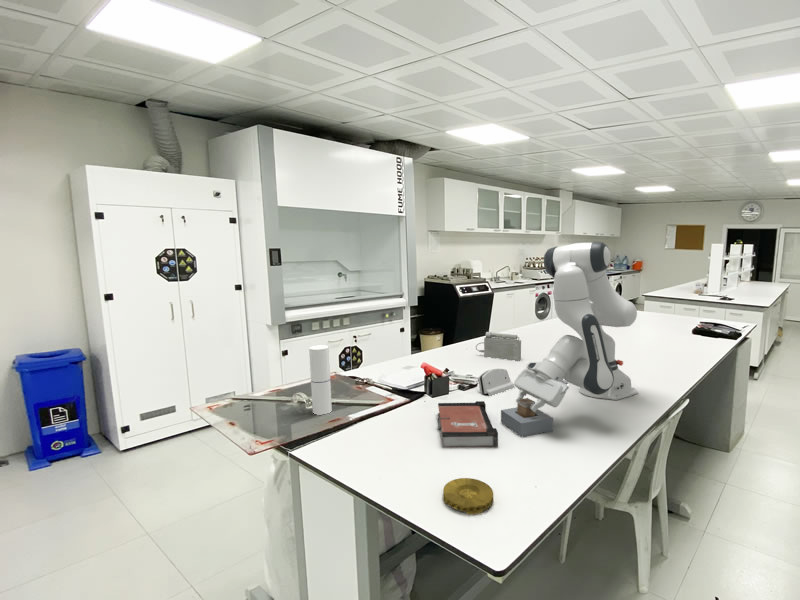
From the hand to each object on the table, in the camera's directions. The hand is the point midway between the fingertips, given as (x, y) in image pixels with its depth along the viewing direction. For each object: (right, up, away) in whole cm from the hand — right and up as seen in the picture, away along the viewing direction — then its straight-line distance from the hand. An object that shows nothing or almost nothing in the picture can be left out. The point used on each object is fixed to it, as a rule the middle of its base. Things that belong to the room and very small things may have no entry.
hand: (524, 406), depth 141 cm
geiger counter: (+11, +4, +88) cm, 89 cm away
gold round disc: (-25, -13, -38) cm, 48 cm away
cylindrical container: (-71, -7, +19) cm, 74 cm away
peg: (+1, -7, +1) cm, 7 cm away
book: (-20, -8, +1) cm, 22 cm away
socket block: (+1, -7, +1) cm, 7 cm away
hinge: (-1, -3, +38) cm, 38 cm away
